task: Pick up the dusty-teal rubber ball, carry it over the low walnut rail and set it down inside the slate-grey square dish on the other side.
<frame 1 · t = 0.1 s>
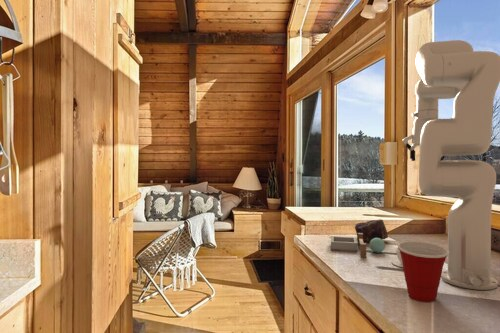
hand: (426, 160, 135), 31 cm above the countertop, tool pointing down, fingers open, 9 cm apart
rock: (371, 242, 137), on the countertop
ball: (377, 252, 122), on the countertop
teacup: (409, 265, 108), on the countertop
dish: (343, 247, 128), on the countertop
plastic cup: (422, 298, 82), on the countertop
rail: (361, 250, 124), on the countertop
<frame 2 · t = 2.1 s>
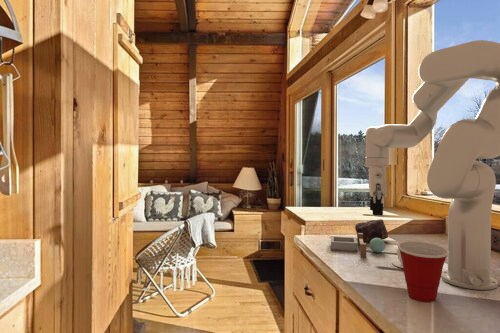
hand: (376, 212, 122), 14 cm above the countertop, tool pointing down, fingers open, 9 cm apart
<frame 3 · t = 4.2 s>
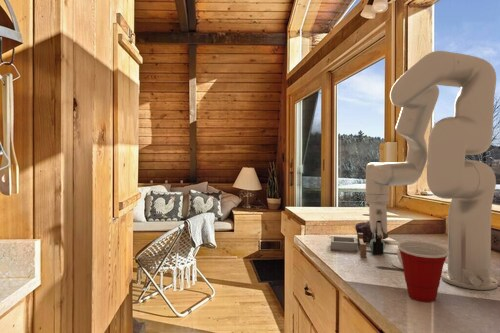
hand: (377, 251, 122), 0 cm above the countertop, tool pointing down, fingers closed on ball, 4 cm apart
ball: (377, 252, 122), on the countertop, touching gripper
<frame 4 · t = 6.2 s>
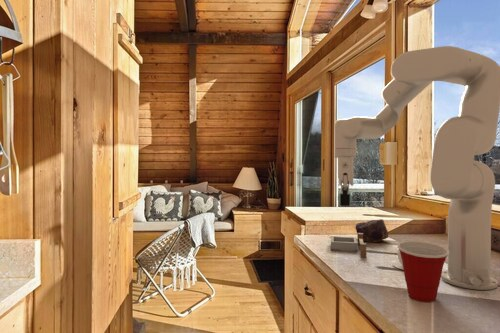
hand: (344, 203, 128), 16 cm above the countertop, tool pointing down, fingers closed on ball, 4 cm apart
ball: (344, 205, 128), point 15 cm above the countertop, touching gripper
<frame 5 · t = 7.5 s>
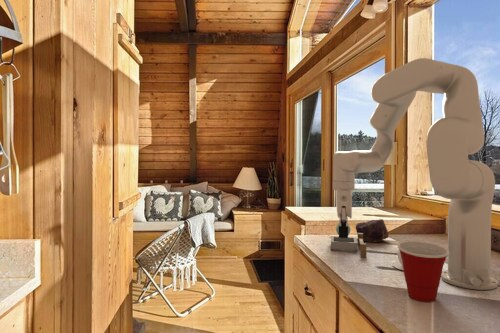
hand: (343, 235, 128), 4 cm above the countertop, tool pointing down, fingers closed on ball, 4 cm apart
ball: (343, 236, 128), point 4 cm above the countertop, touching gripper
when the fingers open (3 cm above the countertop, at t = 8.4 s): ball drops 2 cm, resting on dish.
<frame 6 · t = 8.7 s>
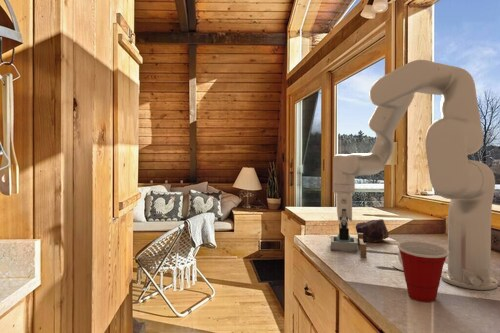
hand: (343, 236, 128), 4 cm above the countertop, tool pointing down, fingers open, 8 cm apart
ball: (343, 246, 128), point 1 cm above the countertop, touching dish
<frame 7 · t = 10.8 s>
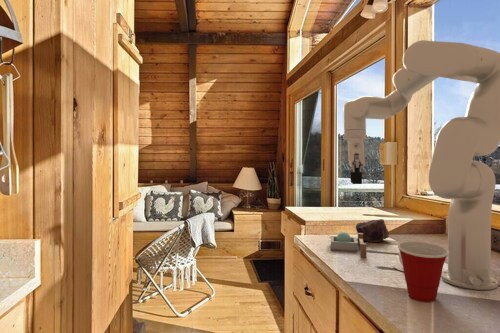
hand: (356, 183, 127), 23 cm above the countertop, tool pointing down, fingers open, 9 cm apart
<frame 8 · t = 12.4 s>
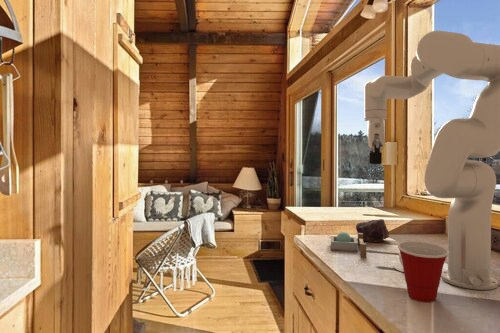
hand: (375, 163, 128), 30 cm above the countertop, tool pointing down, fingers open, 9 cm apart
at the end: ball 0.0 cm off-centre on the dish, point 0.6 cm above the dish's base; the gripper is holding nothing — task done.
